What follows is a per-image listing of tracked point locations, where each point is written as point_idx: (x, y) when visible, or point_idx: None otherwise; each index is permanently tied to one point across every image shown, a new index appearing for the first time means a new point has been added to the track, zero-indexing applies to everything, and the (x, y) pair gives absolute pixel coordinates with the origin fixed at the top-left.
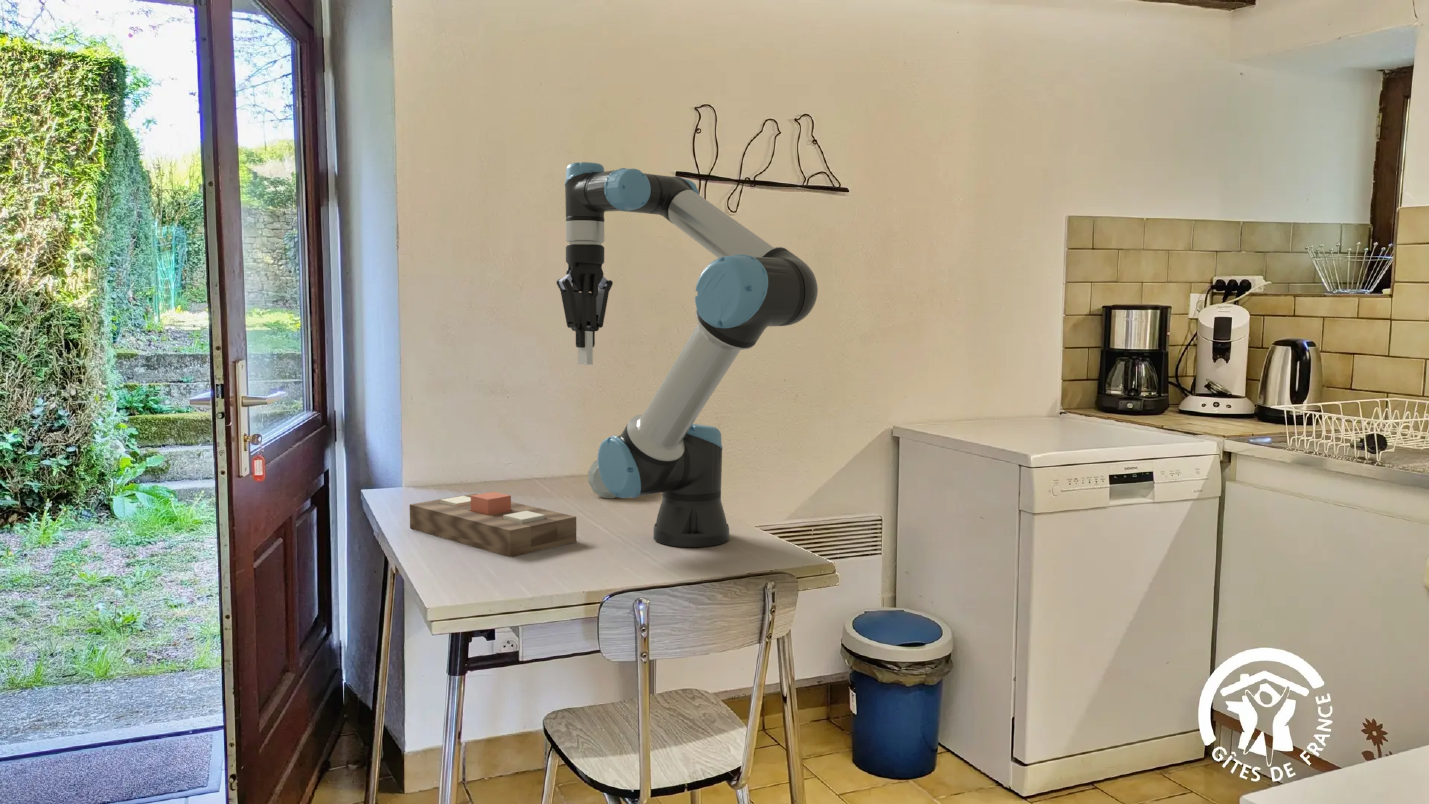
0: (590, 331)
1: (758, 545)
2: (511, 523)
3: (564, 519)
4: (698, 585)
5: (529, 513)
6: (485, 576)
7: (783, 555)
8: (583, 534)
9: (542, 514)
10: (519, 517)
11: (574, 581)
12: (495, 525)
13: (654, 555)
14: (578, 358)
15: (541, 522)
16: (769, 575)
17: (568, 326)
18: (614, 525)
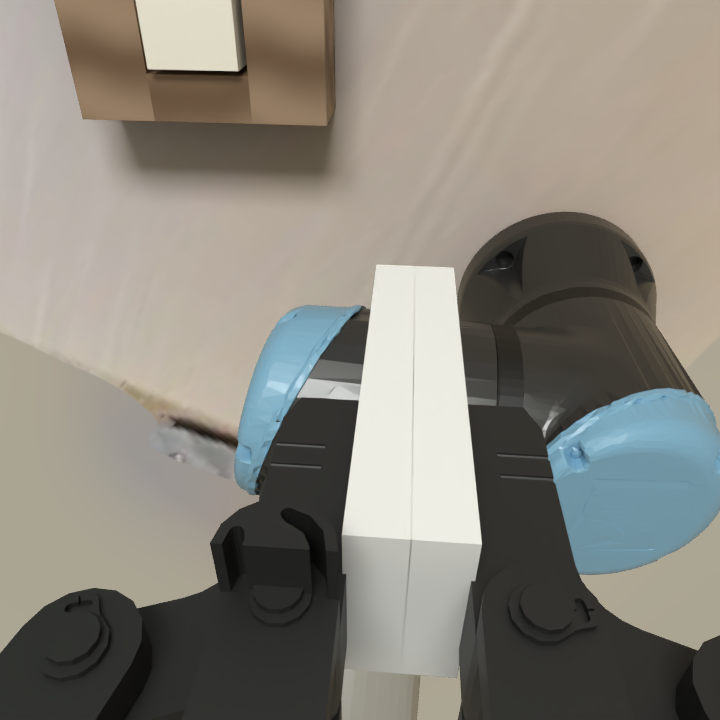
0: (456, 654)
1: None
2: (123, 46)
3: (280, 124)
4: None
5: (211, 10)
6: (4, 191)
7: None
8: (411, 50)
9: (235, 59)
10: (155, 37)
11: (140, 337)
12: (71, 30)
13: None
14: (373, 299)
15: (202, 107)
16: None
17: (53, 625)
18: (565, 31)
